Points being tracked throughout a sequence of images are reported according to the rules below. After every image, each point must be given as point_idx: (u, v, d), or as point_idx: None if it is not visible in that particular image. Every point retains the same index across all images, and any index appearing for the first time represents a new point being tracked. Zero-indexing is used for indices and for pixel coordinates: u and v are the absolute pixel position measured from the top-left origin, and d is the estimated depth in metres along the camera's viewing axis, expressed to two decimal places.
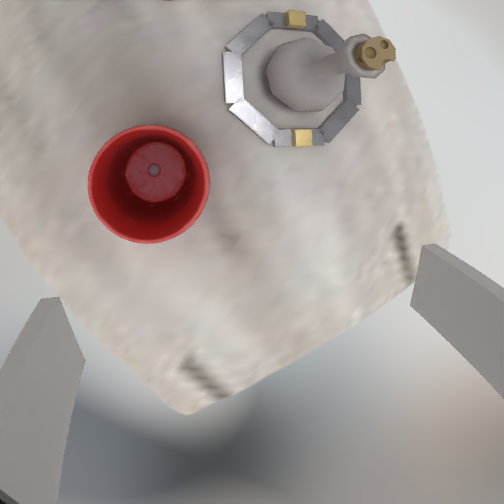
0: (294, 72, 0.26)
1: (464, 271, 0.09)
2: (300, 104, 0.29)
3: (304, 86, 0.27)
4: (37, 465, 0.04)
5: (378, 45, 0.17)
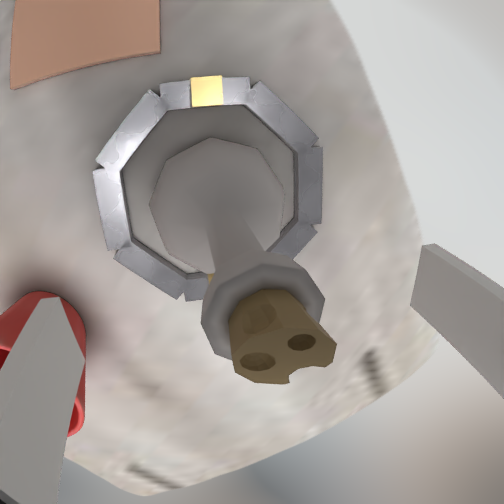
0: (177, 236, 0.17)
1: (464, 271, 0.09)
2: (202, 271, 0.20)
3: (197, 258, 0.17)
4: (37, 465, 0.04)
5: (281, 347, 0.07)
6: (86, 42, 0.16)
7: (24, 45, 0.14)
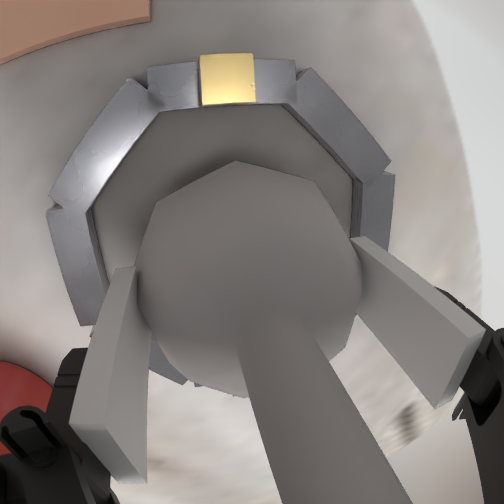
0: (182, 356, 0.09)
1: (384, 262, 0.10)
2: None
3: (220, 384, 0.09)
4: (133, 418, 0.06)
5: None
6: (38, 11, 0.08)
7: None
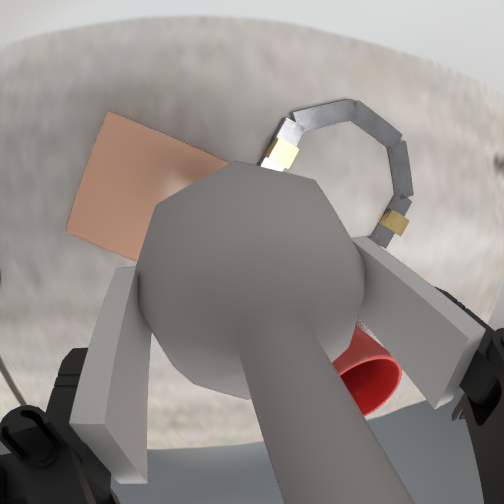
0: (185, 359, 0.09)
1: (384, 263, 0.10)
2: None
3: (223, 387, 0.09)
4: (134, 418, 0.06)
5: None
6: None
7: None
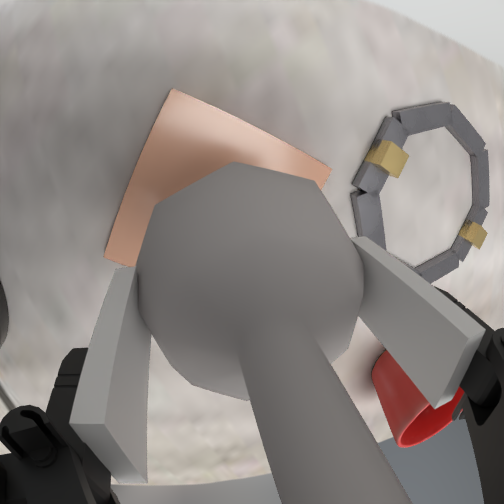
0: (184, 360, 0.09)
1: (384, 262, 0.10)
2: None
3: (222, 388, 0.09)
4: (134, 418, 0.06)
5: None
6: None
7: None
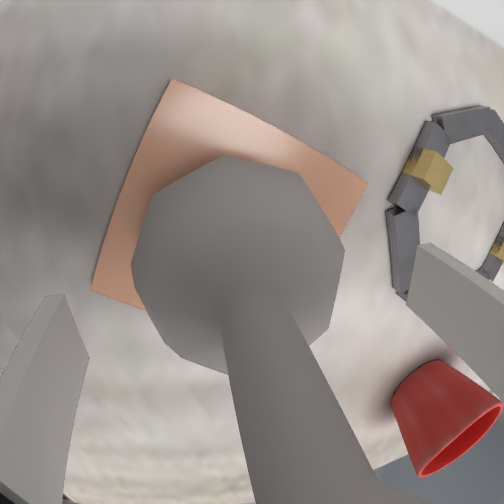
0: (173, 332, 0.10)
1: (459, 270, 0.09)
2: None
3: (209, 361, 0.10)
4: (42, 462, 0.05)
5: None
6: None
7: None
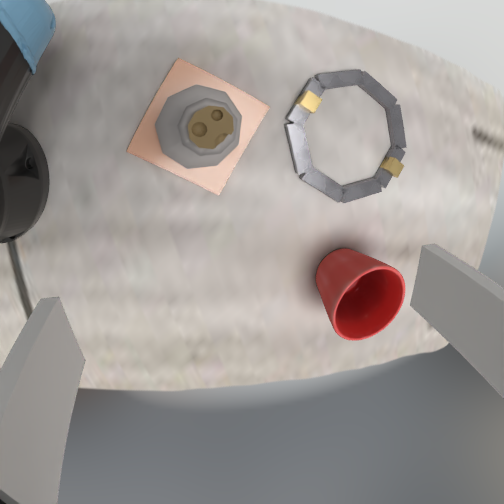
0: (171, 133, 0.26)
1: (464, 271, 0.09)
2: (185, 164, 0.29)
3: (182, 148, 0.26)
4: (37, 465, 0.04)
5: (209, 118, 0.16)
6: None
7: (199, 172, 0.34)
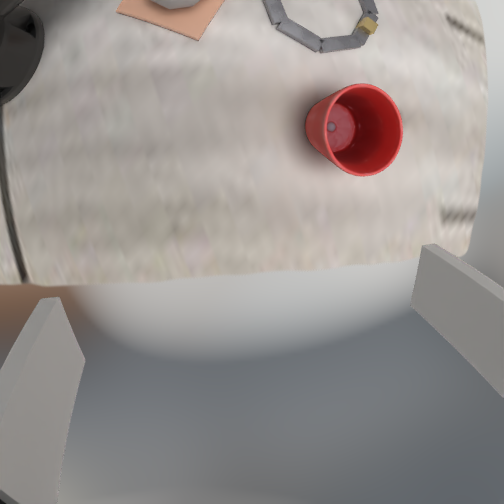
0: None
1: (464, 271, 0.09)
2: None
3: None
4: (37, 465, 0.04)
5: None
6: None
7: (180, 21, 0.29)
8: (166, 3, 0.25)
